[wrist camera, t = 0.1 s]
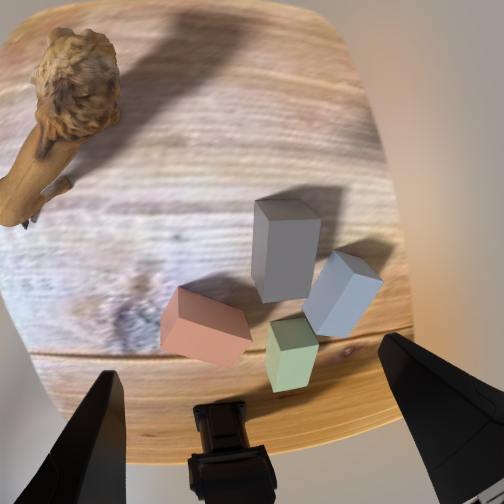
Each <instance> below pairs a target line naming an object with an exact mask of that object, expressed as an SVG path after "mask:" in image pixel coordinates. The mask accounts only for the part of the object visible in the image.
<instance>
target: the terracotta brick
mask: <svg viewBox="0 0 504 504" xmlns="http://www.w3.org/2000/svg"><path fill="white" fill-rule="evenodd" d="M252 341H253V340H252V337H251V334H250V331H249V328H248V324H247V321H246V318H245V314H244V311H243V310H240V309H237V308H234V307H231V306H229V305H226V304H223V303H220V302H218V301H215V300H212V299H209V298H207V297H204V296H201V295H199V294H196V293H193V292H191V291H188V290H186V289H183V288H180V287H177V289H176V290H175V292H174V294H173V296H172V297H171V299H170V301H169V303H168V305H167V307H166V308H165V310H164V312H163V314H162V316H161V333H160V349H163V350H166V351H170V352H173V353H176V354H180V355H183V356H186V357H190V358H194V359H197V360H201V361H204V362H208V363H212V364H216V365H220V366H224V367H228V368H231V367H232V366H233V364H234V363H235V362H236V361H237V360H238V358H239V357H240V356H241V355H242V354H243V352H244V351H245V350H246V349H247V348H248V346H249V345H250V344H251V343H252Z"/></svg>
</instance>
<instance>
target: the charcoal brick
mask: <svg viewBox="0 0 504 504" xmlns="http://www.w3.org/2000/svg"><path fill="white" fill-rule="evenodd" d="M321 221H322V219H321V218H320V217H319V216H318V215H317V214H316V213H315V212H314V211H313V210H312V209H311V208H310V207H309V206H307V205H306V204H305V203H304V202H303V201H302V200H301V199H289V200H255V205H254V226H253V246H252V267H251V275H252V278H253V280H254V283H255V285H256V288H257V290H258V293H259V295H260V298H261V300H262V303H270V302H279V301H287V300H295V299H303V298H309V294H310V288H311V283H312V277H313V271H314V266H315V260H316V254H317V247H318V241H319V235H320V228H321Z"/></svg>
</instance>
